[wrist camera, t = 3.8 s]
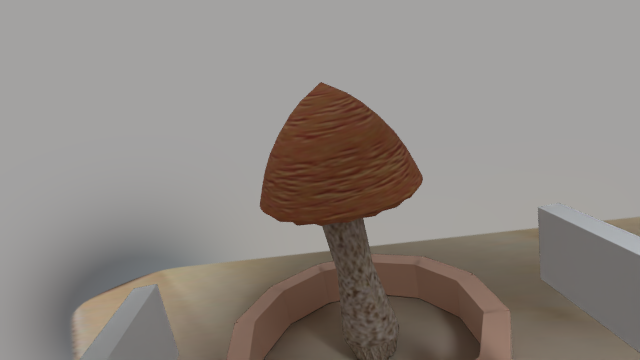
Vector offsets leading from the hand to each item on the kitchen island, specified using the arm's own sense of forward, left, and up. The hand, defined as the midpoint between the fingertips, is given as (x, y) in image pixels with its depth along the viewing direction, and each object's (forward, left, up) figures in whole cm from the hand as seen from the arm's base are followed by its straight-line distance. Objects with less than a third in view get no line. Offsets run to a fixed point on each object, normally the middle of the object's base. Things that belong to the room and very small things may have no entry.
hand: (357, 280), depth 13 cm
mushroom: (+3, -6, -9) cm, 11 cm away
